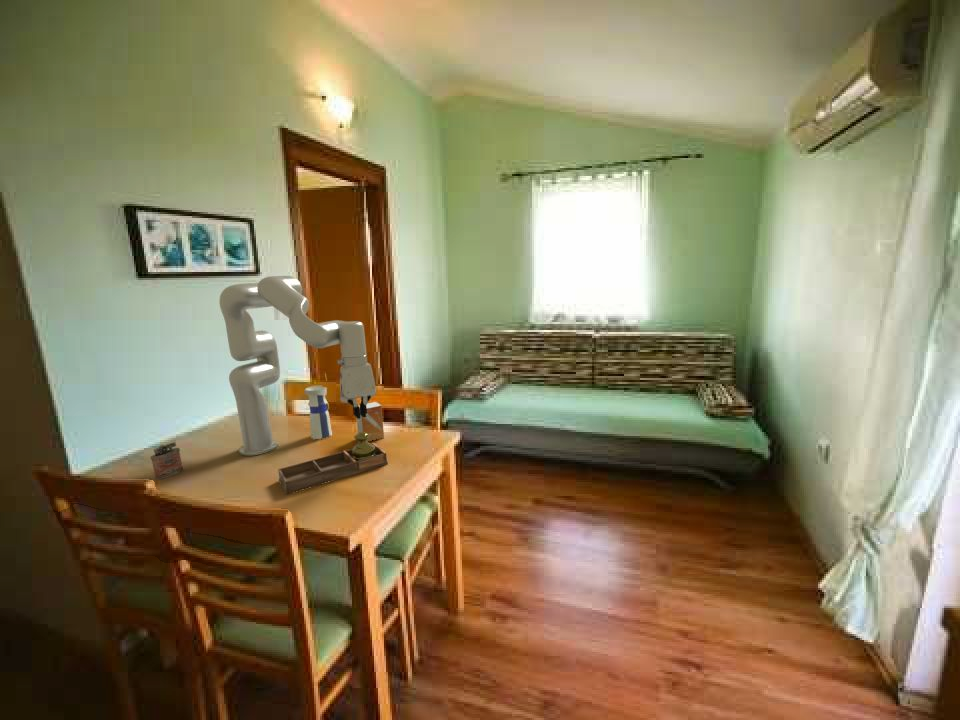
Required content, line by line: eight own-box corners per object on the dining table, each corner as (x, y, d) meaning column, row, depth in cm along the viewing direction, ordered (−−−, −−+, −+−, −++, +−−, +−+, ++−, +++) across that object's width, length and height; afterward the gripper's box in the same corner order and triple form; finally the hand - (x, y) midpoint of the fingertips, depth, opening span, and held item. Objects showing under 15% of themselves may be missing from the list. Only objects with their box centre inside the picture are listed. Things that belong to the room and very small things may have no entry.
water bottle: (326, 430, 176) (319, 369, 170) (336, 434, 170) (329, 372, 165) (306, 436, 170) (298, 374, 165) (316, 441, 164) (308, 377, 159)
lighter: (157, 480, 137) (151, 450, 135) (153, 478, 139) (146, 448, 137) (185, 470, 144) (180, 441, 142) (180, 468, 146) (175, 440, 144)
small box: (363, 443, 160) (360, 409, 157) (358, 438, 165) (354, 405, 163) (384, 438, 164) (381, 405, 162) (378, 433, 170) (375, 401, 167)
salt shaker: (348, 461, 143) (345, 432, 141) (368, 454, 148) (366, 426, 146) (360, 468, 138) (357, 438, 136) (380, 460, 143) (377, 431, 141)
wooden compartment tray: (278, 481, 133) (277, 468, 132) (374, 453, 151) (373, 442, 150) (287, 495, 124) (285, 482, 123) (388, 464, 141) (387, 452, 141)
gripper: (333, 367, 129) (340, 425, 132) (382, 359, 137) (387, 414, 141) (326, 363, 135) (332, 419, 138) (373, 355, 143) (378, 409, 147)
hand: (360, 416), depth 140 cm, fingers closed
